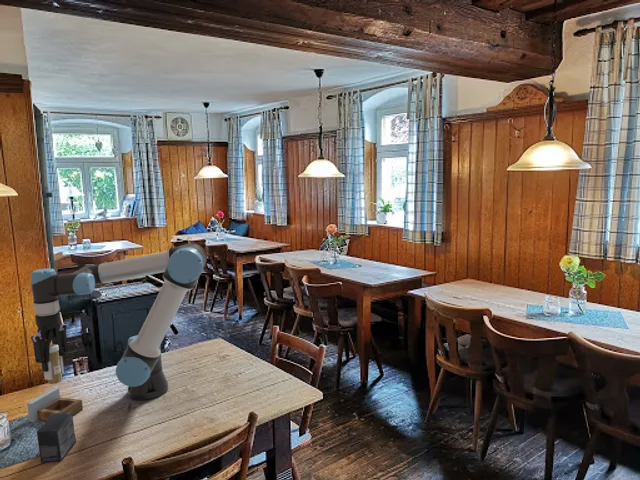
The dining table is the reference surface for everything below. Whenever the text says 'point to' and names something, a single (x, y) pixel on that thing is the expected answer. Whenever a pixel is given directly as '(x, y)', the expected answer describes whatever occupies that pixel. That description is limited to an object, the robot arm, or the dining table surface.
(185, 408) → the dining table surface
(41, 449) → the small box
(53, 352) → the sprinkles bottle
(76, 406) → the socket block
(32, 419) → the board
